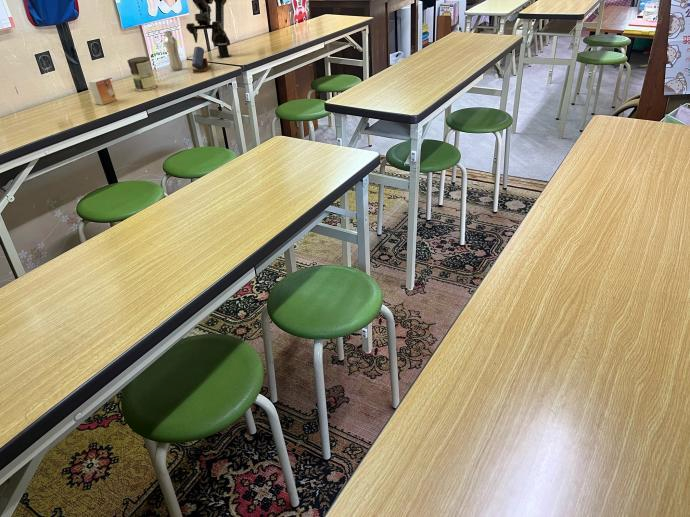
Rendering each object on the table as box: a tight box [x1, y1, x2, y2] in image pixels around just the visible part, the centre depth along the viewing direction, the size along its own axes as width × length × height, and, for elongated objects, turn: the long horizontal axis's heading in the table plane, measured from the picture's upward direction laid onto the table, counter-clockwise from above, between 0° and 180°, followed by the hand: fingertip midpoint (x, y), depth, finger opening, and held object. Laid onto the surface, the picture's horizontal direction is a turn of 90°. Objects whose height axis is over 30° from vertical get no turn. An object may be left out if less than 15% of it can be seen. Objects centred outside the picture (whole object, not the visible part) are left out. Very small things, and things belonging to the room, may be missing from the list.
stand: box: [192, 57, 212, 73], centre depth 283 cm, size 8×7×6 cm
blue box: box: [191, 46, 205, 69], centre depth 279 cm, size 11×5×11 cm, turn 169°
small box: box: [88, 77, 117, 106], centre depth 242 cm, size 8×6×10 cm
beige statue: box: [164, 30, 183, 71], centre depth 285 cm, size 6×7×20 cm
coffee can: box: [126, 56, 157, 92], centre depth 258 cm, size 10×10×14 cm
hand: (204, 42), depth 280 cm, fingers open, 9 cm apart
